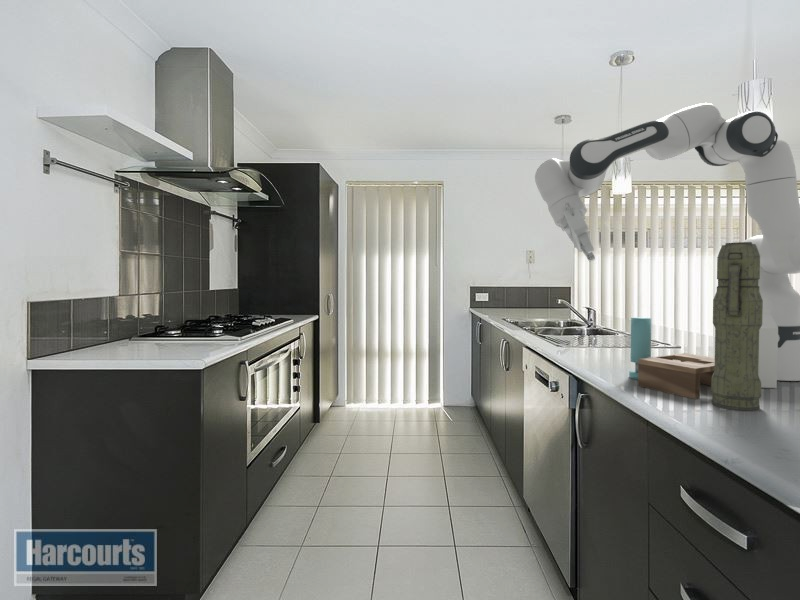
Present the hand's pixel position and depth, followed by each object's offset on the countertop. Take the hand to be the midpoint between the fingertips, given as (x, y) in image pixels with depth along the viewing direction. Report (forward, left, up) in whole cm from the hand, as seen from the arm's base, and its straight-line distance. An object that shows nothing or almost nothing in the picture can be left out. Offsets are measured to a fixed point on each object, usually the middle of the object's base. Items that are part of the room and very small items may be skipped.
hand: (591, 256), depth 132 cm
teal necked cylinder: (-12, +9, -34) cm, 36 cm away
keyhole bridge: (-7, +22, -34) cm, 41 cm away
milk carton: (-21, +33, -34) cm, 52 cm away
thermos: (+5, +34, -34) cm, 48 cm away
